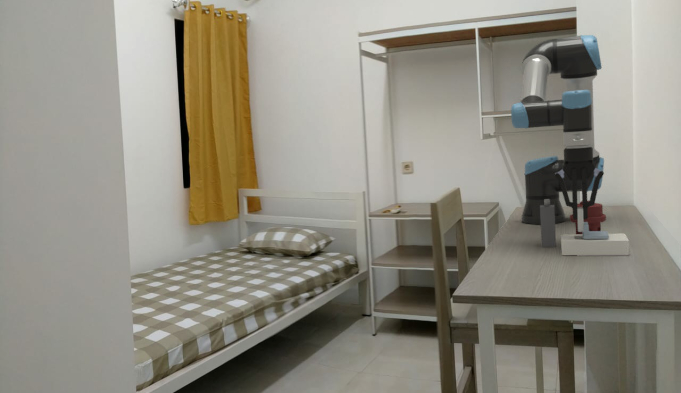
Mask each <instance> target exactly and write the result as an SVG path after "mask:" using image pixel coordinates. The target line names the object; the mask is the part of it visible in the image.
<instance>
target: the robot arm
mask: <svg viewBox="0 0 681 393" xmlns="http://www.w3.org/2000/svg"><path fill="white" fill-rule="evenodd" d="M520 70H521V73H522V75H523V78H522V85H521V86H522V87H521V92H520V94H521V95H520V99H519V100H520V102H517V103H514V104H512V105H511V108H510V109H511V111H510V114H511V124H512V127H513V128H515V129H529V128H530V129H531V128H544V127H545V128H546V127H561V126H562V128H563V130H562V132H563V133H562V135H563V136H562V138H563V139H562V141H563V142H562V143H563V146H564V147H565V148H564V149H563V159H559V157H558V155H553V156H552V155H551V156H545V157H544V156H543V157H540V158H535V159H530V160H528V161H526V163H525V164H524V180H525V181H524V182H525V203H524V206H523V209H522V210H523V211H522V214H521V221H522V223H524V224H530V225H541V219H540V205H544V199H550V205H554V210H555V224H559V223H560V224H561V223H563V222H565V221H566V213H565V210H564V208H563V205H562V202H561V200H560V193H562V196H563V199H564V203H565V206H566V207H570V208H573V209H572V214H573V218H574V220H578V232H584V221H583V219H587V218H588V207H590V206H593V205H594V203H596V198H597V196H598V194H597V193H598V190H600V189H601V187H602V185H603V183H602V182H603V177H604V175H605V172H604V168H605V167H604V165H605V160H604V157H602V156H601V157H600V152H599V151H598V150H597V149H596V148H595V125H594V124H595V123H594V91H593V90H594V88H593V87H594V86H593V81H594V79H595V78H596V77H597V76H598V71H599V70H602V61H601V55H600V50H599V44H598V39H597V36H595V35H594V34H589V35H587V34H586V35H585V34H584V35H581V34H580V35H575V36H568V37H561V38H550V39H546V40H543V41H541V42H539V43H538V44H535V45H534V46H533V47H532V48H531V49H530V50H529V51H528V52H527V54H525V56H524V58H523V59H522V62H521V67H520ZM552 74H553V75H555V74H560V80H562V82H564V83H565V91H564V92H563V93H562V95H561V99H555V100H547V90H548V77H549V75H552ZM570 192H571V193H572V194H571V195H572V196H571V197H572V201H571V200H570V196H569V193H570ZM578 192H581V199H582V200H581V201H582V205H583V207H577V204H578ZM588 192H591V194H590V197H589V200H588ZM587 201H588V202H587Z"/></svg>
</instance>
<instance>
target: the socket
mask: <svg viewBox="0 0 681 393" xmlns="http://www.w3.org/2000/svg"><path fill="white" fill-rule="evenodd" d="M608 235H609V239H584V238H583V234H576V233H574V234H573V233H572V234H570V233H568V234H560V245H561V247H560V248H561V256H562V255H577V256H630V240H629V238H628V236H627V235H626V234H625V233H608Z"/></svg>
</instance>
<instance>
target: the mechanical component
mask: <svg viewBox="0 0 681 393" xmlns="http://www.w3.org/2000/svg"><path fill="white" fill-rule="evenodd" d="M588 201H589V200H587V202H588ZM577 207H583V205H582V200H581V201H580V202H579V203H577ZM571 208H572V207H571ZM603 209H604V208H603V204H602V203H597V202H595V203H594V205H593V206H590V207H588V218H587V219H583V221H584V222H588V225H589V231H602V229H601V228H602V227H601V223H603V222H606V220H607V216H606V214H605V213H604V212H603V211H604V210H603ZM572 210H573V208H572ZM569 221H570V222H572V223H574V225H575V226H574V227H575V234H582V232H578V220H574V218H573V213H572V214H570V215H569Z"/></svg>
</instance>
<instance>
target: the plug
mask: <svg viewBox="0 0 681 393" xmlns="http://www.w3.org/2000/svg"><path fill="white" fill-rule="evenodd" d="M540 219H541V224H540V238H541V239H540V240H541V248H556V247H557V239H556V223H555V210H554V205H550V199H544V205H540Z"/></svg>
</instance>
